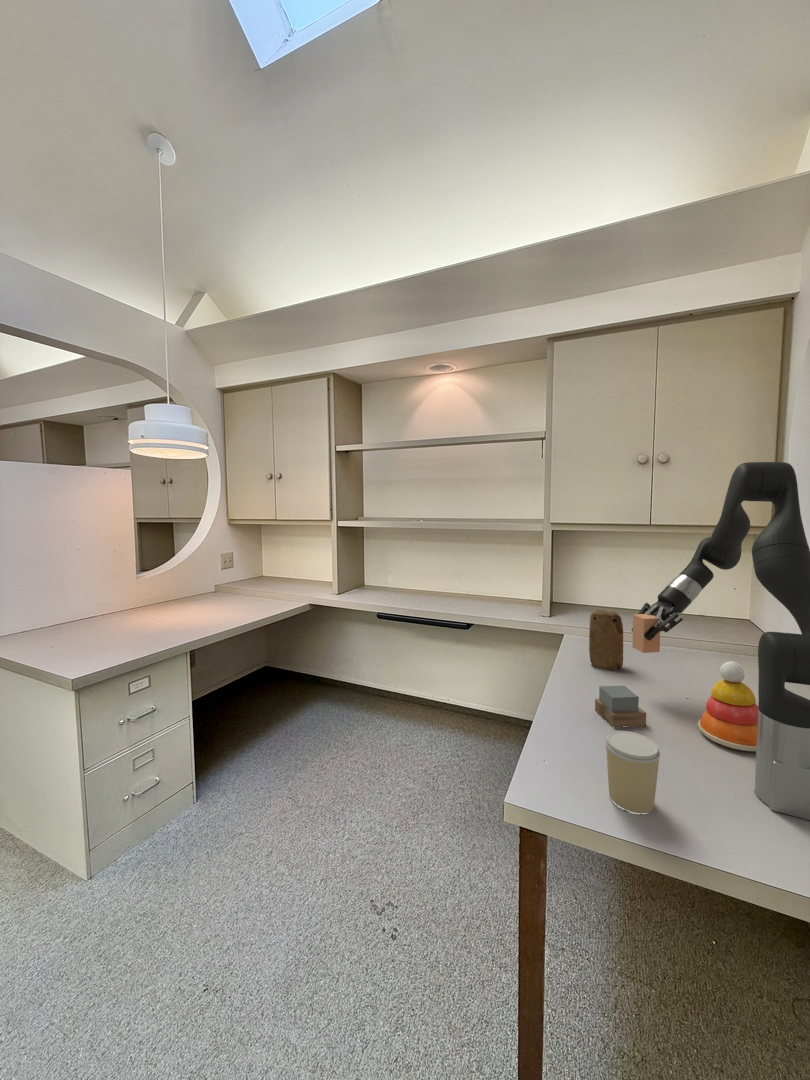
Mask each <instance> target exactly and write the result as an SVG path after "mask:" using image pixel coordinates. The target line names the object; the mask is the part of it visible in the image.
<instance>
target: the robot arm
mask: <svg viewBox="0 0 810 1080" xmlns="http://www.w3.org/2000/svg"><path fill="white" fill-rule="evenodd" d="M797 479H798V478H797V475H796V472H795V469H794V467H793V465H792V464H790V463H789V462H785V461H783V462H782V461H750V462H742V463H740V464H738V466H736V468H735V469H734V470H733V473H732V475H731V478H730V479H729V483H728V487H727V489H726V494H725V499H724V501H723V502H724V503H723V506H722V510H721V514H720V517H719V520H718V521H717V524H716V526H715V527H714V530H713V532H712V533H711V536H707V537H705V538H704V539H701V541H699V544H698V545H697V547H696V550H695V553H694V555H693V557H692V558H691V560H690V562H689V563H688V564H687V565H686V567H685V568H684V569H683V570H682V571H681V572H680V573H679V574H678V575H677V576H676V577H674V578H673V579H672V580H671V581H670V582H669V583H668V584H667V585H666V586H665V588H663V589H662V591H660V593H659V594H658V595H657V601H656V602H654V603H653V604H649V603H648V602H645V603H644V604H643V606H642V607H641V608H640V610H639V612H638V613H637V614H646V615H650V614H651V615H653V616H655V618H657V621H656V622H655V623H654V625H653V626H654V627H651V628H650V629H649V630H648V631H647V632H646V633H645V634H644V637H645V638H646V639H647V640H649V641H650V640H651V639H653V638H654V637H655V635H656V634H657V633H658V632H660V633H661V632H664V633H668V632H670V630H672V629H673V628H675V627H676V626H677V625H678V624H680V623H681V622H682V621H683V618H682V616H681V615H680V614H682V613H683V612H684V611H685V610H686V609H687V608H688V607H689V606H690V605H691V604H692V603H693V602H694V601H695V599H697V598H698V597H699V595H700V594H701V592H702V591H703V590H704V589H705V588H706V586H707V585H708V584H709V583H710V582H711V581H712V580H713V578H714V572H713V571H712V570H711V569H710V568H709V567H708V565H706V564H705V563H704V561H705V562H708V563H709V564H711V565H713V566H715V567H716V568H718V569H720V570H725V571H726V570H731V569H734V568H735V567H736V566H737V565H738V563H739V562H740V559H741V556H742V543H743V542H744V540H745V538H746V537H747V535H748V533H749V532H750V528H751V521H750V517H749V515H748V513H747V511H745V509H744V508H743V505H742V503H743V502H744V501H745V502H767V503H768V502H770V503H772V504H773V507H774V513H773V516H772V517H771V519H770V521H769V522H768V523H767V525H766V526H765V527H764V528H763V530H762V531H761V532H760V533H759V534H758V536H757V537H756V538H755V540H754V542H753V543H752V546H751V557H752V563H753V568H754V569H753V570H754V574H755V577H756V578H757V580H758V582H759V583H760V584H761V586H763V587H764V589H765V590H766V591H768V593H770V594H771V596H773V597H774V599H776V600H777V601H778V602H780V604H782V605H783V606H784V607H785V609H786V610H787V611H788V612H789V613H790V615H791V616H792V617H793V619H794V621H795V622H796V623H797V626H798V628H799V631H800V632H801V633H792V632H782V631H766V632H764V633H762V634H761V636H760V637H759V641H758V647H757V663H758V684H757V685H758V686H757V687H758V705H757V706H758V723H757V744H756V751H755V769H754V771H755V772H754V794H755V795H756V797H757V798H758V799H759V800H760V799H761V800H760V801H761V802H762V803H764V804H766V806H768V807H769V810H771V811H774V812H776V813H777V812H778V813H782V814H784V815H789V816H793V817H796V818H800V819H803V820H806V821H807V820H808V821H810V699H809V698H806V697H804V696H801V695H799V694H797V693H794V692H792V691H790V690H788V689H786V686H785V684H786V683H789V684H796V685H797V684H798V685H805V686H810V547H809V543H808V540H807V536H806V533H805V528H804V523H803V519H802V513H801V507H800V498H799V487H798V480H797ZM659 623H660V624H659ZM668 624H669V625H668ZM631 632H632V633H633V627H632V628H631Z"/></svg>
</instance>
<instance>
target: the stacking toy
mask: <svg viewBox="0 0 810 1080" xmlns="http://www.w3.org/2000/svg"><path fill="white" fill-rule="evenodd" d="M743 668H744V667H742V666H741V665H740V664H739V663H738V662H736V661H732V660H731V661H726V662H725V663H723V664H722V665H721V666H720V669H719V674H720V676H721V678H722V679H721V680H718V682H716V683H715V684H714V685H713V686H712V688H711V696H710V697H708V699H707V702H706V705H705V709H706V710H705V711H704V712H703V714H702V715H701V718H700V719H699V720H698V722H697V728H698V729H699V731H700V732H701V733H702V734H703V735H704V736H705V737H706V738H708V739H709V740H711V741H712V742H713V743H717V744H719V745H722V746H724V747H727V748H730V749H733V750H738V751H745V752H756V744H757V723H758V705H757V703H756V702H757V701H756V697H755V693H754V692H753V690H752V689H751V688H750V687H749V686H748V685H747V684H746V683H743V680H744V679H745V676H746V675H745V670H744V669H743Z"/></svg>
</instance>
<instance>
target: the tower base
mask: <svg viewBox="0 0 810 1080" xmlns="http://www.w3.org/2000/svg"><path fill="white" fill-rule="evenodd" d="M595 711H596V712H597V713H596V712H595ZM594 712H595V713H596V714H598V715H599V716H600V717H601V718H602V719H603V720H604V719H605V720H606V721H607V722H608V723H609V724H610V725H611V726H612V728H613V727H621V728H624V727H623V726H637V727H644V726H643V725H646V726H647V712H646V711H645V710H644V709H642V708H640V706H638V712H611V711H610V710H609V709H608V708H607V707H606V706H605V705H604V704H603V703H602V702H601V701H600V700H599V698H594ZM605 720H604V721H605ZM606 721H605V722H606ZM607 722H606V723H607ZM608 723H607V724H608ZM610 725H609V726H610ZM611 726H610V727H611Z"/></svg>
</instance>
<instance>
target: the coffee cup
mask: <svg viewBox="0 0 810 1080" xmlns="http://www.w3.org/2000/svg"><path fill="white" fill-rule="evenodd" d="M605 746H606V747H605V748H606V765H607V766H606V768H607V782H608V785H607V786H608V794H609V795H610V796H609V795H608V796H609V798H610V797H611V799H612V800H613V801H614V802H615V803H616V804H617V805H619V806H620V807H622V808H624V809H626V810H629V811H631V812H634V813H635V812H636V813H641V814H642V813H649V812H651V811H652V812H653V810H654V807H655V799H656V790H657V782H658V772H659V761H660V759H661V751H660V749H659V747H658V745H657V743H656V742H655V741H653V740H652V739H650V738H649V737H647V736H645V735H643V734H639V733H637V732H634V731H627V730H618V731H617V730H616V731H613V732H610V733H608V735H607V736H606V738H605ZM611 799H610V800H611ZM652 812H651V813H652ZM649 814H650V813H649Z"/></svg>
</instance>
